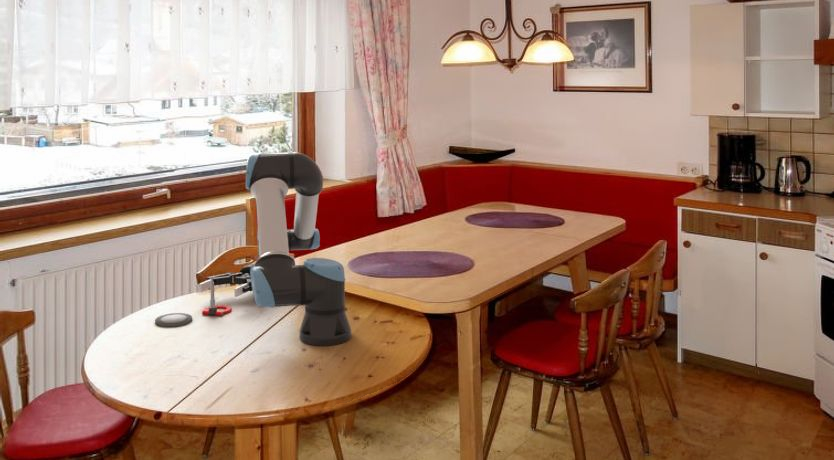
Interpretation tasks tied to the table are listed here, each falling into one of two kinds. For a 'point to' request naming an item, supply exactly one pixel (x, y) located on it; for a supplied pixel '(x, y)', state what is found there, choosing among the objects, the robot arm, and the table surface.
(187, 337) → the table surface
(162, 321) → the plate
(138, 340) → the table surface
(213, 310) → the tow hook
